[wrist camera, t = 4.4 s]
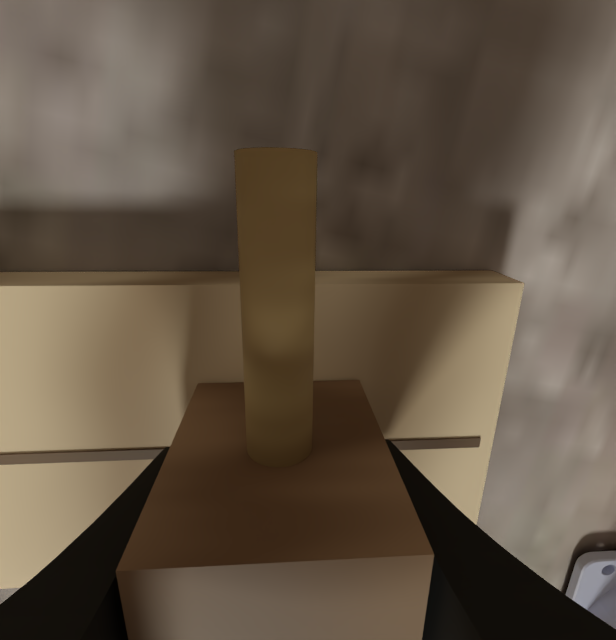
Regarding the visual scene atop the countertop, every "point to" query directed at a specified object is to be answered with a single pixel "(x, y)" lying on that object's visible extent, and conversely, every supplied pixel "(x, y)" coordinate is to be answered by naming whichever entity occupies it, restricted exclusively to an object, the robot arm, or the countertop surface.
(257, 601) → the mallet
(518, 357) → the countertop surface
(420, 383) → the board
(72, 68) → the countertop surface
